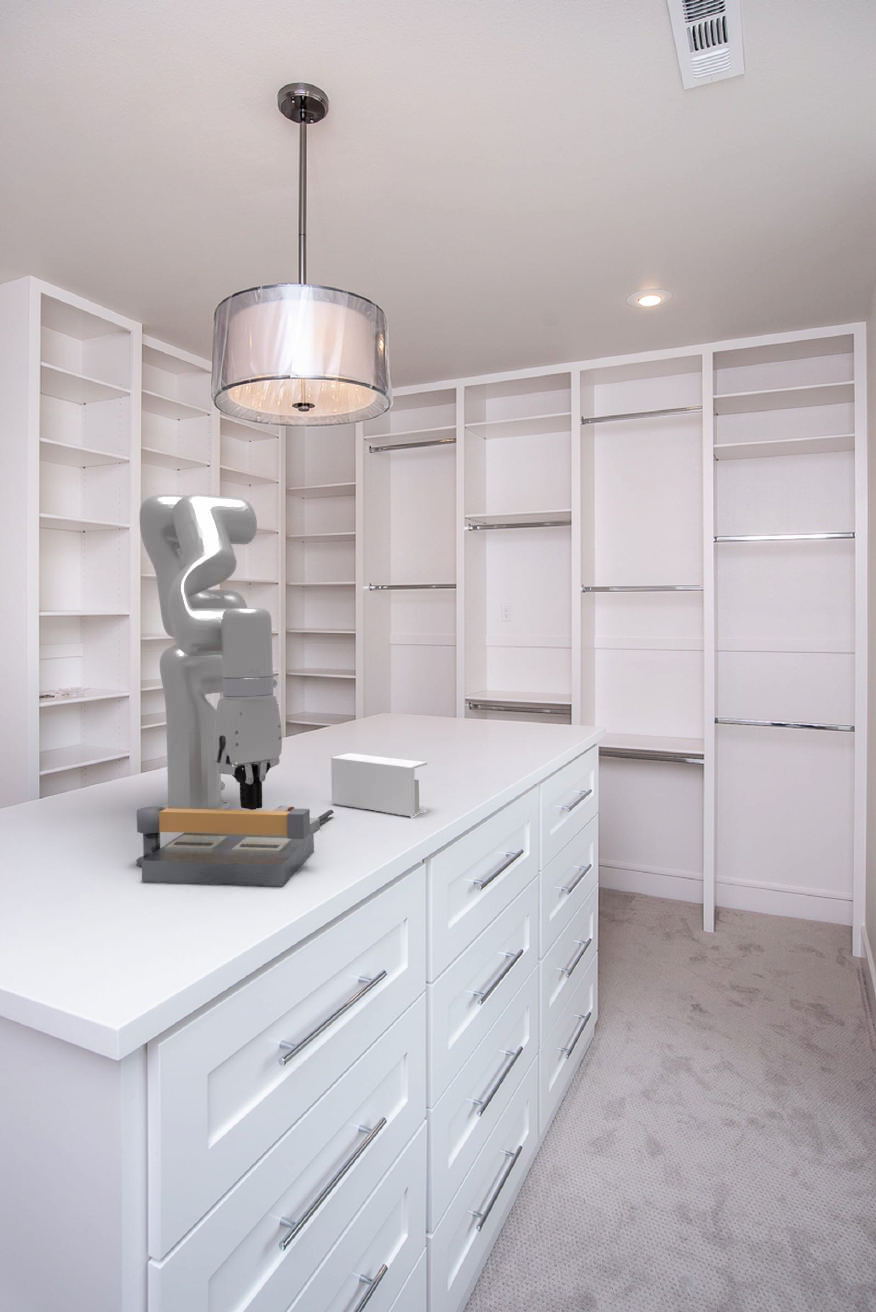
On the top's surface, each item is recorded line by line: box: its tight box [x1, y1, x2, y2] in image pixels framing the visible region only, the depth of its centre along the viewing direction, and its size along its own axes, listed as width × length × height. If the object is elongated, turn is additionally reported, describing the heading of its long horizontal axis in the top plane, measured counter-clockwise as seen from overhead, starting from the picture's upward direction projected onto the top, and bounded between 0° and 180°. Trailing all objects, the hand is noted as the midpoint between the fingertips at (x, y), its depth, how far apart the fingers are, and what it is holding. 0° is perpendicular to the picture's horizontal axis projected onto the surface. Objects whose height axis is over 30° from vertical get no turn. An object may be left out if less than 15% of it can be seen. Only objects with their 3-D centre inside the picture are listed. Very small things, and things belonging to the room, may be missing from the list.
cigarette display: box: [330, 752, 428, 818], centre depth 147 cm, size 20×6×9 cm, turn 58°
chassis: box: [141, 832, 315, 888], centre depth 114 cm, size 16×20×4 cm
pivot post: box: [135, 832, 161, 868], centre depth 115 cm, size 4×4×4 cm
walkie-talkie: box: [272, 805, 334, 832], centre depth 132 cm, size 9×4×20 cm
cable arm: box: [136, 805, 311, 839], centre depth 114 cm, size 26×4×4 cm, turn 84°
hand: (251, 807), depth 119 cm, fingers closed
